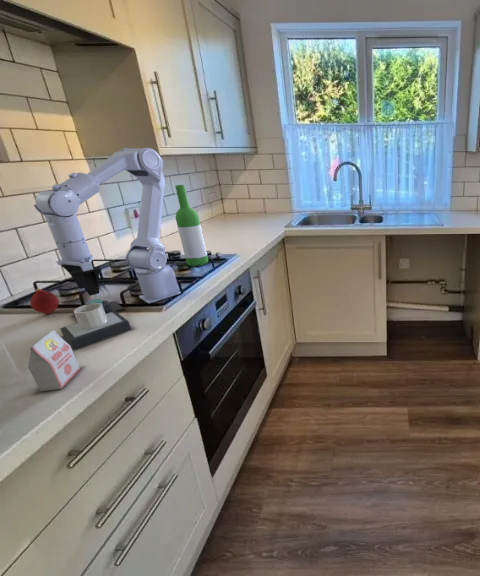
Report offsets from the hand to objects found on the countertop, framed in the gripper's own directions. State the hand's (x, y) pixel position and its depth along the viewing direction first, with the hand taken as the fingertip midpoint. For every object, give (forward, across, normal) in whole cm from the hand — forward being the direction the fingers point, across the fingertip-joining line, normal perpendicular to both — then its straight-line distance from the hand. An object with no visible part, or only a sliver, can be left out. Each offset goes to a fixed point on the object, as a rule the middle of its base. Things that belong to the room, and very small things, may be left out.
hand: (89, 290), depth 95 cm
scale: (+9, +7, -3) cm, 12 cm away
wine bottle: (+10, -26, +40) cm, 48 cm away
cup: (+6, +7, -3) cm, 10 cm away
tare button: (+7, -7, +2) cm, 10 cm away
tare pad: (+9, -7, +2) cm, 12 cm away
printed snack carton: (+10, +24, -14) cm, 29 cm away
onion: (+10, -18, -7) cm, 22 cm away
